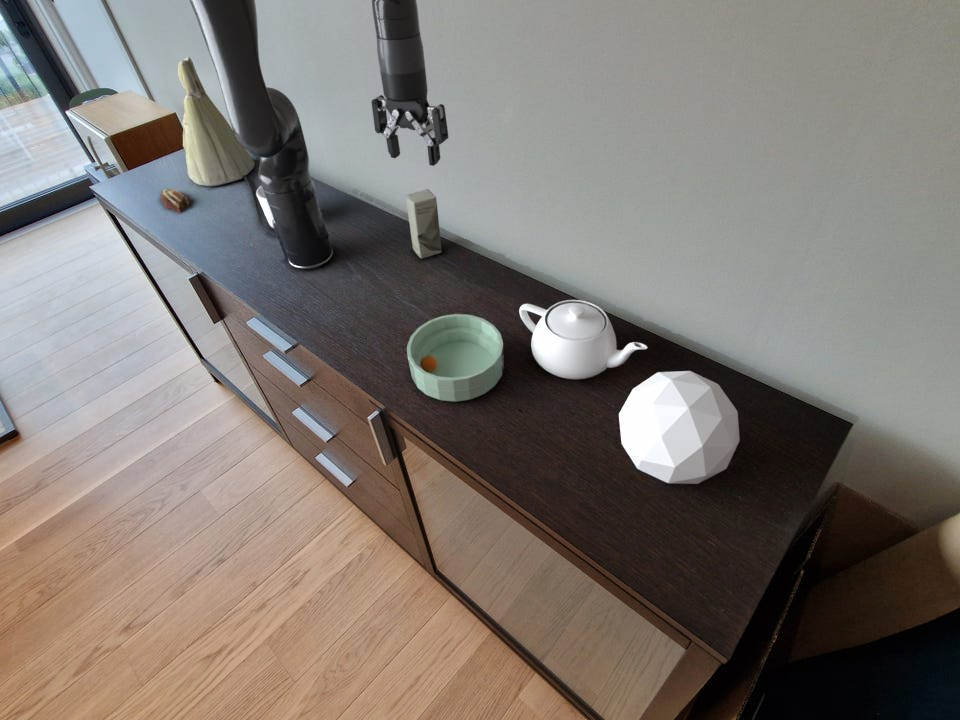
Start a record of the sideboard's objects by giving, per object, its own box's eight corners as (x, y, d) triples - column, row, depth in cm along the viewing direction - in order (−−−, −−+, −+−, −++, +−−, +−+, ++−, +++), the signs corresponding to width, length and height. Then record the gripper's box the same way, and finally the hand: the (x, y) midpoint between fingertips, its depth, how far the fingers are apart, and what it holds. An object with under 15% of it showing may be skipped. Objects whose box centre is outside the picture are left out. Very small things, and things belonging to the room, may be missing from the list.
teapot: (498, 358, 89) (496, 309, 81) (540, 314, 96) (542, 265, 89) (618, 415, 79) (629, 365, 71) (655, 361, 86) (668, 310, 79)
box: (420, 259, 111) (412, 203, 102) (412, 250, 114) (403, 194, 104) (443, 252, 112) (437, 196, 103) (435, 242, 115) (428, 187, 106)
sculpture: (212, 150, 153) (205, 45, 131) (266, 182, 153) (269, 82, 131) (167, 174, 142) (151, 64, 120) (225, 208, 142) (220, 105, 120)
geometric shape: (641, 494, 75) (588, 458, 66) (658, 398, 81) (611, 352, 71) (748, 508, 65) (704, 468, 56) (760, 398, 71) (721, 344, 61)
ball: (417, 356, 85) (419, 366, 87) (424, 368, 84) (426, 377, 86) (432, 350, 86) (433, 359, 88) (439, 361, 85) (440, 370, 87)
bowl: (394, 385, 86) (388, 361, 82) (441, 328, 95) (438, 304, 91) (476, 416, 80) (474, 392, 76) (518, 353, 89) (518, 328, 86)
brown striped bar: (151, 197, 137) (147, 191, 136) (171, 189, 140) (168, 183, 139) (177, 214, 130) (173, 207, 129) (197, 205, 133) (194, 198, 132)
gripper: (450, 62, 87) (457, 158, 99) (380, 54, 92) (394, 146, 104) (427, 76, 82) (437, 175, 94) (354, 67, 87) (371, 162, 99)
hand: (414, 160), depth 99 cm, fingers open, 8 cm apart
